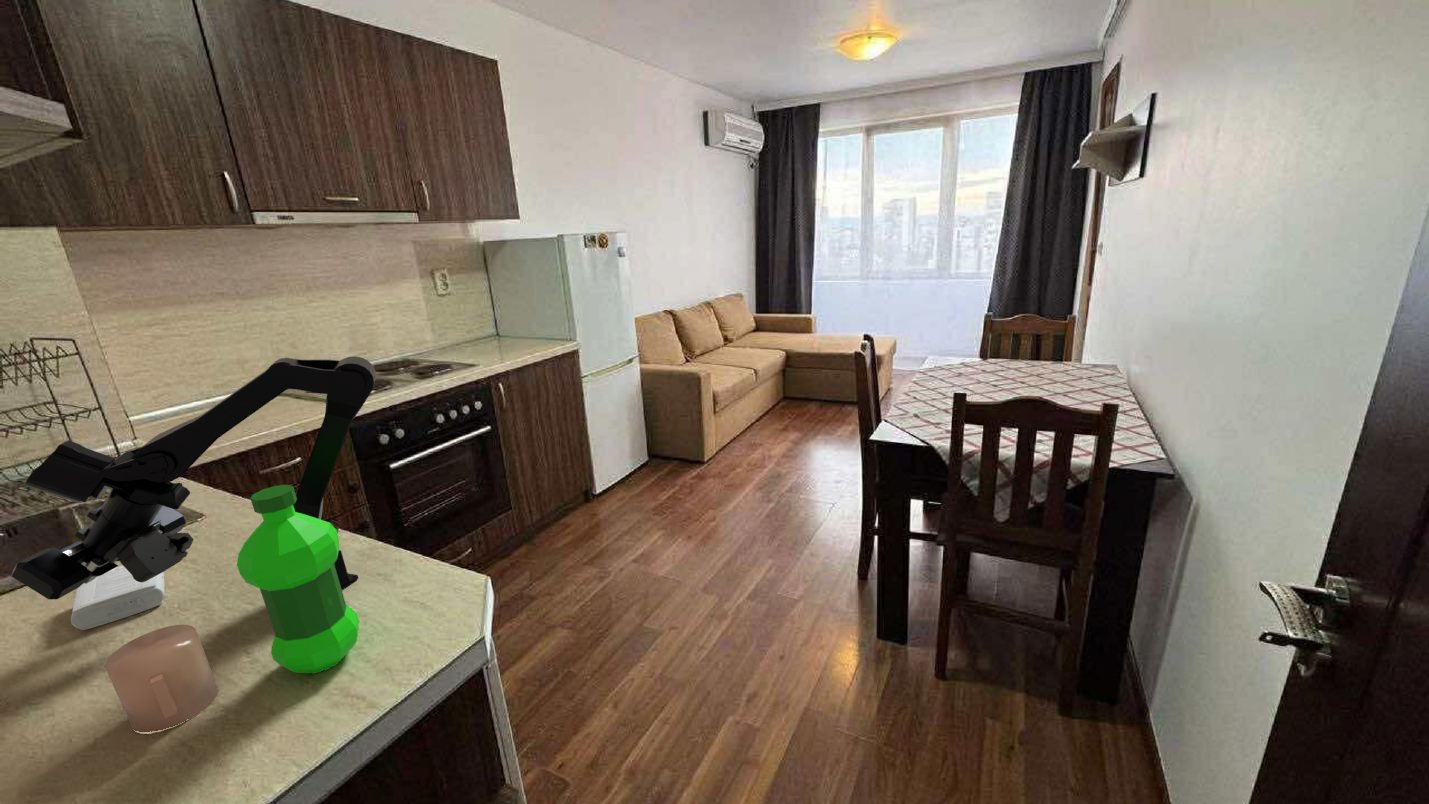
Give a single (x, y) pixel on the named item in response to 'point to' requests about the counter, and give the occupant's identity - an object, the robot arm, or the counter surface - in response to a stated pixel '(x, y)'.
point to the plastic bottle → (298, 583)
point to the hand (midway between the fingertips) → (85, 580)
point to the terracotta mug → (162, 678)
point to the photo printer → (114, 598)
